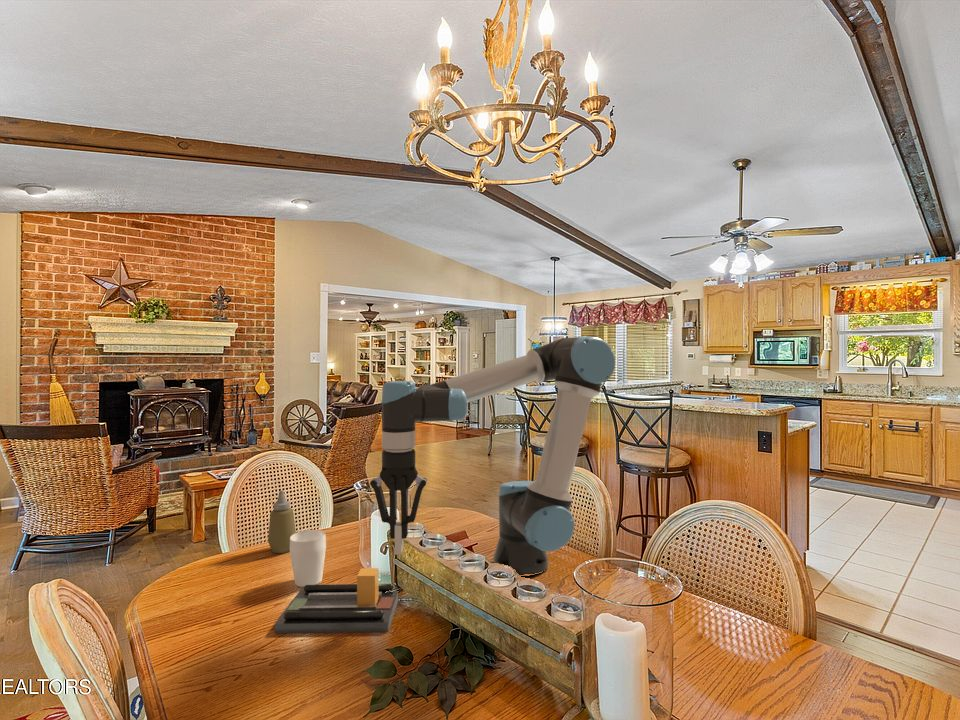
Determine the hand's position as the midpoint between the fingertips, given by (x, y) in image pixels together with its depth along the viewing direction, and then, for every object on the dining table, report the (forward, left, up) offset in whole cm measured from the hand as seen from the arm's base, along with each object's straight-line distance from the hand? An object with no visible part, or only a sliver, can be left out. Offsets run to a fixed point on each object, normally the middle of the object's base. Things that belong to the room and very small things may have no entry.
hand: (398, 552), depth 113 cm
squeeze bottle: (+41, -37, -14) cm, 57 cm away
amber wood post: (+7, 0, -12) cm, 14 cm away
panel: (+13, 0, -14) cm, 19 cm away
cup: (+26, -16, -14) cm, 34 cm away
